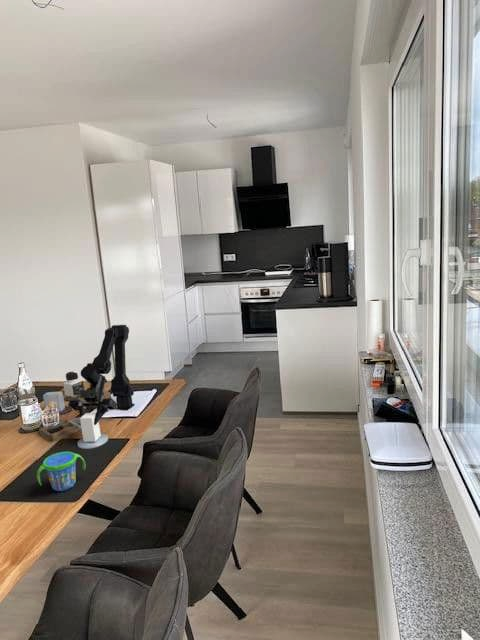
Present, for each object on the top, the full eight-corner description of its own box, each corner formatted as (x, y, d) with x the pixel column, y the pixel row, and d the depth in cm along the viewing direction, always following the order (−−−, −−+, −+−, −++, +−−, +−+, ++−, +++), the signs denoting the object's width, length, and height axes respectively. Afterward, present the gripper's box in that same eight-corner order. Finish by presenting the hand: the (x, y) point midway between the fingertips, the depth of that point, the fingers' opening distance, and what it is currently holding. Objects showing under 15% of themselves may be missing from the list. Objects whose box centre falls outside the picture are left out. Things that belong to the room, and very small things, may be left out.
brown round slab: (116, 395, 247) (115, 390, 247) (104, 408, 232) (103, 402, 231) (86, 397, 249) (85, 391, 249) (72, 409, 234) (71, 403, 233)
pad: (114, 436, 200) (113, 434, 200) (96, 450, 190) (96, 448, 189) (89, 433, 205) (89, 432, 204) (71, 447, 194) (71, 446, 193)
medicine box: (65, 408, 236) (62, 391, 234) (61, 411, 232) (58, 394, 230) (50, 408, 237) (47, 392, 235) (45, 412, 233) (42, 395, 231)
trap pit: (89, 416, 223) (89, 413, 223) (100, 422, 216) (99, 418, 215) (68, 424, 216) (68, 421, 216) (79, 430, 209) (78, 427, 209)
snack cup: (84, 472, 174) (79, 445, 171) (91, 485, 165) (86, 457, 162) (38, 486, 166) (32, 459, 164) (42, 501, 157) (36, 472, 155)
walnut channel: (67, 424, 216) (66, 419, 216) (78, 431, 208) (77, 425, 208) (39, 434, 208) (38, 429, 208) (50, 441, 200) (49, 436, 200)
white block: (89, 435, 200) (85, 413, 197) (100, 435, 199) (97, 412, 196) (83, 441, 195) (79, 418, 193) (95, 441, 194) (91, 418, 192)
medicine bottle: (74, 397, 249) (70, 375, 246) (65, 395, 253) (61, 374, 250) (85, 392, 255) (81, 371, 252) (76, 391, 259) (72, 369, 256)
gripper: (66, 380, 197) (57, 417, 189) (109, 379, 194) (102, 417, 186) (78, 391, 206) (70, 427, 198) (120, 390, 203) (113, 427, 195)
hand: (88, 424), depth 194 cm, fingers open, 5 cm apart
